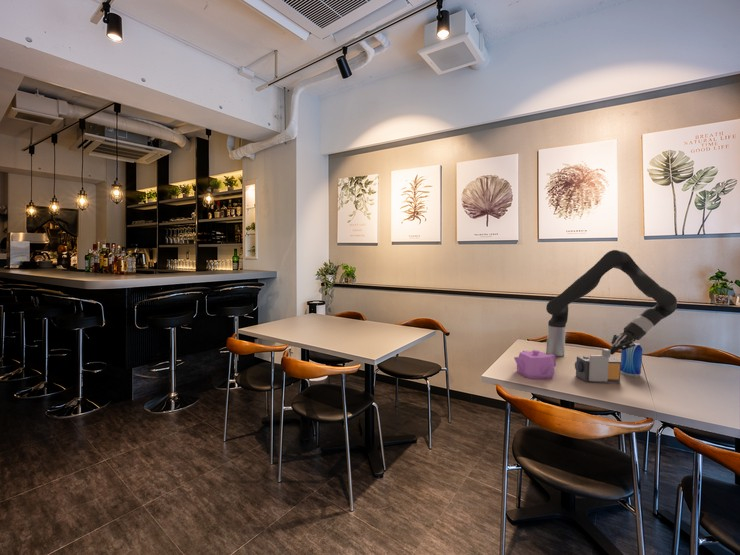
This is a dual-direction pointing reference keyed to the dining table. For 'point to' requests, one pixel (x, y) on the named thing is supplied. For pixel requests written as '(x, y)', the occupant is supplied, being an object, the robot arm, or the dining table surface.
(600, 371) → the side door
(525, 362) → the teakettle
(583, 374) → the camera body
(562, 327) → the robot arm
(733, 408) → the dining table surface
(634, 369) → the beer can
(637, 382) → the dining table surface
